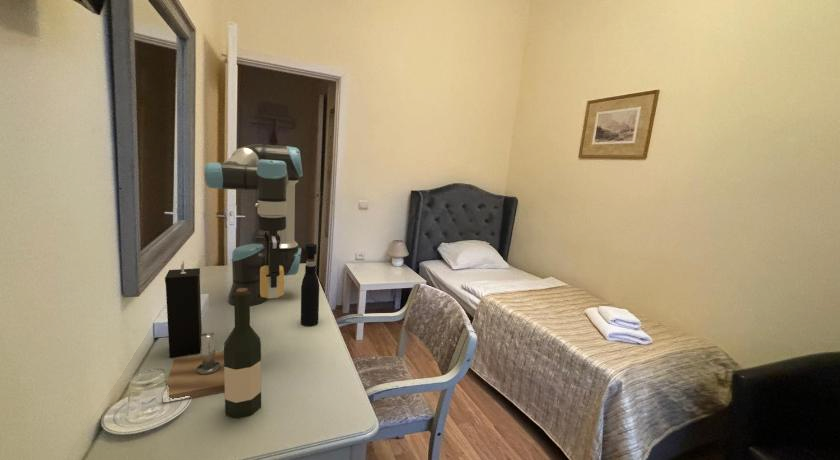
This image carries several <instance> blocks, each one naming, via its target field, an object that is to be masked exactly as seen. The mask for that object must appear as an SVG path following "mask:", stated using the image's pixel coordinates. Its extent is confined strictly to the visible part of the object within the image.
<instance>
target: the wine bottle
mask: <svg viewBox="0 0 840 460" xmlns="http://www.w3.org/2000/svg"><path fill="white" fill-rule="evenodd" d="M317 254H318V253H317V244H316V243H307V244H305V255H307V256H306V259H307V260H306V261H305V262H306V263H305V266H304V269H305V270H304V271H305V272H304V275H303V278H302V281H301V286H300V288H301V289H300V325H301V326H302V327H314V326H317V325H318V324H319V316H320V315H319V311H320V310H319V309H320V308H319V305H320V282H319V278H318V274H317V265H316V260H315V255H317Z"/></svg>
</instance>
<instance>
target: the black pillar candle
mask: <svg viewBox="0 0 840 460" xmlns="http://www.w3.org/2000/svg"><path fill="white" fill-rule="evenodd" d="M200 275H201V269H200V268H199V267H198V268H197V267H196V268H185V260H183V261H182V262H181V265H180V269H177V268H176V269H169V270H168V271H167V273H166V275H165V277H164V283H165V298H166V313H167V315H166V317H167V318H166V319H167V333H168V334H167V335H168V351H169V352H168V353H169V355H168V356H169V358H170V359H172V358H179V357H186V356H193V355H200V354H201V353H202V345H201V335H202V334H203V332H202V330H203V328H202V327H203V326H202V305H201V303H202V302H201V276H200Z"/></svg>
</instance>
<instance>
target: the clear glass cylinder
mask: <svg viewBox="0 0 840 460" xmlns="http://www.w3.org/2000/svg"><path fill="white" fill-rule="evenodd" d="M215 352H216V350H215V333H214V332H209V331H208V332H205V333H202V335H201V354H202V364H201V365H199V366H198V367H197V373H198V374H200V375H208V374H212V373H215V372H217V371H218V370H219V369H220V367H221V366H220V363H219V362H215Z"/></svg>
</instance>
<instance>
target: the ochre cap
mask: <svg viewBox="0 0 840 460" xmlns="http://www.w3.org/2000/svg"><path fill="white" fill-rule="evenodd" d="M279 273H280V275H279V292H278V297H277V298H279V297H281V296H283V295H285V293H284V292H285V275H284V271H283V266H281V265H279ZM268 274H269V265H266V266H262V267H261V268H260V295H261V297H265V298H268V277H266V275H268ZM268 299H269V298H268Z"/></svg>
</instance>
